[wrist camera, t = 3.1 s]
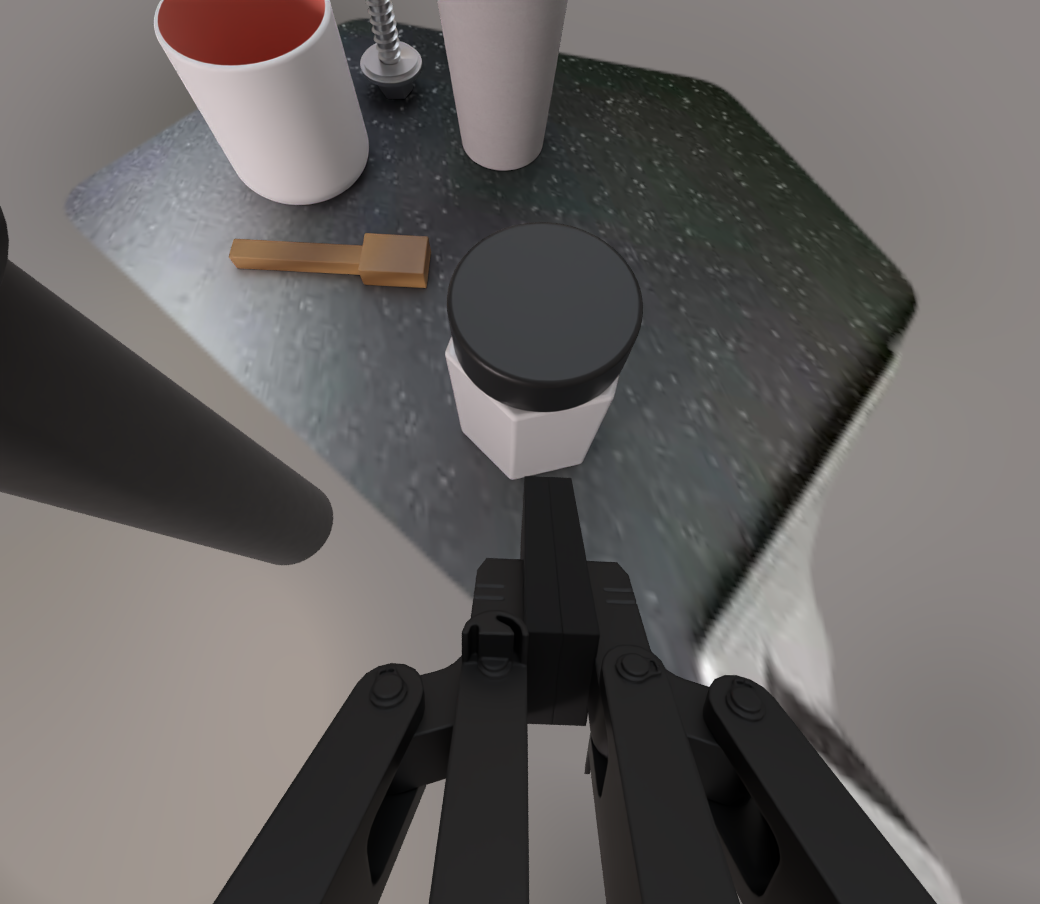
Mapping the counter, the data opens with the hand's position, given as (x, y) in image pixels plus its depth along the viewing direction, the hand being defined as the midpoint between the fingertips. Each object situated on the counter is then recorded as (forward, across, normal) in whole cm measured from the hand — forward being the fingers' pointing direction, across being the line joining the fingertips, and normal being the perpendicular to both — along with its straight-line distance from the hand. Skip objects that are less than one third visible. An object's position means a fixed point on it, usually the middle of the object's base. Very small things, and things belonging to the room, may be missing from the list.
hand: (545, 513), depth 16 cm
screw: (+36, -12, +18) cm, 42 cm away
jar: (+16, 0, -3) cm, 16 cm away
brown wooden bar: (+23, -14, +5) cm, 28 cm away
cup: (+30, -18, +12) cm, 37 cm away
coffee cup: (+33, -3, +14) cm, 36 cm away
